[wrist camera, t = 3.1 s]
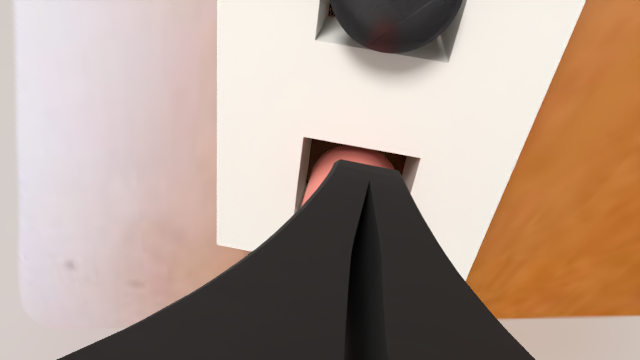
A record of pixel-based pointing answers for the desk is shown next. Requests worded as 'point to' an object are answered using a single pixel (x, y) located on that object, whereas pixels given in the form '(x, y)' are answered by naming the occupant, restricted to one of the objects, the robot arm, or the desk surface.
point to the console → (380, 109)
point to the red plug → (344, 153)
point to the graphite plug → (395, 22)
